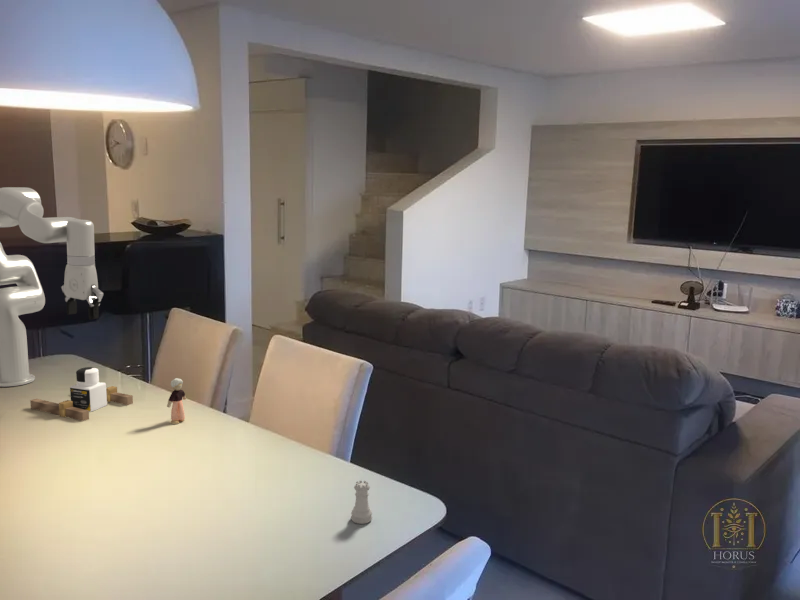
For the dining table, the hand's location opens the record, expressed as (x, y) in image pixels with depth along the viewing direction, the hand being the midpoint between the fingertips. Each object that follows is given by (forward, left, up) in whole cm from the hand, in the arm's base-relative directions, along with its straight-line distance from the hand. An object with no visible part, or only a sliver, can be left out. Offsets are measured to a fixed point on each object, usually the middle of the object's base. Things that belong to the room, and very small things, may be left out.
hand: (82, 316), depth 211 cm
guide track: (+6, -6, -26) cm, 27 cm away
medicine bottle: (+8, -6, -26) cm, 28 cm away
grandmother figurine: (+40, -2, -26) cm, 47 cm away
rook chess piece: (+114, -28, -26) cm, 120 cm away
